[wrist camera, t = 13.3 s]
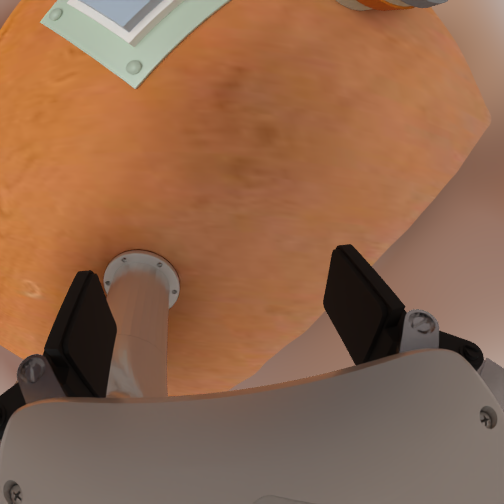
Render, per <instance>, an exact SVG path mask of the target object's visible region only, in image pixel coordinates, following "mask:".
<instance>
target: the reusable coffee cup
mask: <svg viewBox="0 0 504 504" xmlns="http://www.w3.org/2000/svg"><path fill="white" fill-rule="evenodd" d="M336 1H337V2H339V3H340V4H341V5H343V6H345V7H347V8H350V9H353V10H360V11H363V10H370V9H376V10H383V11H386V10H400V9H412V8H414V7H418V8H428V7H431V6H435V5H438V4H441V3H444V2H447V1H448V0H336Z"/></svg>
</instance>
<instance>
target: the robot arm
mask: <svg viewBox="0 0 504 504" xmlns="http://www.w3.org/2000/svg"><path fill="white" fill-rule="evenodd" d="M103 281H104V288H105V291H106V293H107V298H106V297H105V294H104V292H103V289H102V286H101V283H100V281H99V278H98V275H97V274H94V273H93V272H92V271H91V270H89V271H79V272H78V273H77V274H76V276H75V278H74V280H73V282H72V284H71V286H70V288H69V291H68V293H67V295H66V297H65V299H64V301H63V303H62V306H61V308H60V310H59V313H58V315H57V317H56V320H55V322H54V324H53V327H52V329H51V332H50V334H49V337H48V339H47V342H46V345H45V347H44V350H45V351H44V353H43V356H42V355H39V354H34V355H31V356H29V357H27V358H26V359H24V360H23V361H22V363H21V364H20V365H19V368H18V371H17V381H16V383H15V384H14V386H13V387H11V388H10V389H8V390H7V391H6V392H5V393H3V394H2V395H1V396H0V504H504V369H503V368H502V367H501V366H499V365H497V364H496V363H494V362H493V361H491V360H490V359H488V358H486V360H484V358H483V353H482V351H481V350H480V348H479V347H478V346H477V345H476V344H474V343H472V342H470V341H467V340H465V339H462V338H459V337H456V336H453V335H450V334H447V333H445V332H441V331H439V325H438V322H437V320H436V319H435V318H434V317H433V316H432V315H431V314H430V313H428V312H426V311H424V310H419V309H416V310H411V311H409V312H408V313H406V311H405V310H404V308H405V305H404V304H403V303H402V302H401V301H400V299H399V298H398V297H397V296H396V295H395V293H394V292H393V291H392V290H391V289H390V287H389V286H388V285H387V284H386V283H385V282H384V281H383V279H382V278H381V277H380V276H379V275H378V273H377V272H376V271H375V270H374V269H373V268H372V267H371V266H370V264H369V263H368V262H367V261H366V260H365V259H364V258H363V257H362V255H361V254H360V253H359V252H358V251H357V250H356V249H355V248H354V247H353V246H352V245H351V244H348V245H339V246H337V247H336V249H334V250H333V252H332V257H331V262H330V268H329V274H328V279H327V284H326V290H325V295H324V300H323V304H324V308H325V310H326V312H327V314H328V315H329V317H330V319H331V321H332V323H333V324H334V326H335V328H336V330H337V331H338V334H339V335H340V337H341V339H342V341H343V342H344V344H345V346H346V348H347V350H348V352H349V354H350V356H351V357H352V359H353V361H354V363H355V365H356V366H352V367H348V368H345V369H341V370H337V371H333V372H329V373H325V374H321V375H317V376H312V377H308V378H303V379H299V380H294V381H288V382H283V383H278V384H273V385H267V386H261V387H255V388H248V389H242V390H234V391H226V392H218V393H208V394H198V395H186V396H171V397H168V393H167V338H168V312H169V309H170V308H171V307H172V306H173V305H174V303H175V302H176V301H177V298H178V296H179V291H180V283H179V278H178V275H177V273H176V271H175V269H174V268H173V266H172V265H171V264H170V263H169V262H168V261H166V260H165V259H164V258H162V257H161V256H159V255H157V254H155V253H151V252H148V251H142V250H132V251H127V252H124V253H122V254H119V255H118V256H116V257H115V258H113V259H112V261H111V262H110V263H109V264H108V266H107V268H106V271H105V274H104V280H103Z"/></svg>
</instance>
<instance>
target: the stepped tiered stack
mask: <svg viewBox="0 0 504 504" xmlns="http://www.w3.org/2000/svg"><path fill="white" fill-rule="evenodd" d="M229 1H231V0H58V1H57V2H56V3H55V4H54V5H53V6H52V8H51V9H50V10H49V11H48V12H47V14H46V15H45V16H44V18H43V19H42V20H41V21H40V23H42V24H44V25H45V26H47V27H48V28H50V29H51V30H53V31H54V32H56V33H57V34H59V35H60V36H62V37H63V38H65V39H66V40H68V41H69V42H71V43H72V44H74V45H75V46H77V47H78V48H80V49H81V50H83V51H84V52H85V53H87V54H88V55H90V56H91V57H92V58H94V59H95V60H97V61H98V62H99V63H101V64H102V65H104V66H105V67H106V68H108V69H109V70H110V71H112V72H113V73H115V74H116V75H117V76H119V77H120V78H121V79H123V80H124V81H125V82H127V83H128V84H129V85H131V86H132V87H133V88H135V89H137V88H138V87H139V86H140V85H141V83H142V82H143V81H144V80H145V79H146V78H147V77H148V76H149V74H150V73H151V72H152V71H153V70H154V69H155V68H156V67H157V66H158V65H159V64H160V63H161V62H162V61H163V60H164V58H165V57H166V56H167V55H168V54H169V53H170V52H171V51H172V50H173V49H174V48H176V47H177V46H178V45H179V44H180V43H181V42H182V41H183V40H184V39H185V38H186V37H187V36H188V35H189V34H190V33H192V32H193V31H194V30H195V29H196V28H197V27H198V26H200V25H201V24H202V23H203V22H204V21H205V20H207V19H208V18H209V17H210V16H211V15H213V14H214V13H215V12H216V11H218V10H219V9H220V8H221V7H223V6H224V5H225V4H227V3H228V2H229Z"/></svg>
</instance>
